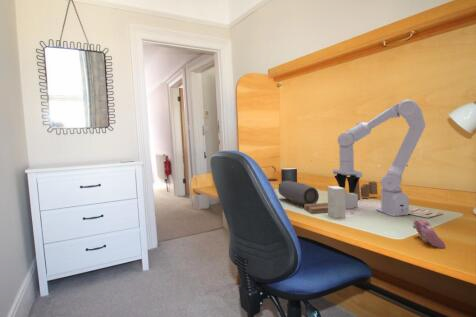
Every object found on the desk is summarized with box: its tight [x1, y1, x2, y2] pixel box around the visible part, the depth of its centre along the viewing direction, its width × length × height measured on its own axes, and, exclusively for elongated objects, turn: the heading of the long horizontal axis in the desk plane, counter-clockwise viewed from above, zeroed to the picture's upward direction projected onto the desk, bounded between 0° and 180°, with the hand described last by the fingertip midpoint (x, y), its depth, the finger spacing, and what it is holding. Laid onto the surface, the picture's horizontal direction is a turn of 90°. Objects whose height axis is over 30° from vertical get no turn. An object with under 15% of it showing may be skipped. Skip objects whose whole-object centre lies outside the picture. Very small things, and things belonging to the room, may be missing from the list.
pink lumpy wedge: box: [412, 219, 446, 249], centre depth 76 cm, size 10×5×7 cm, turn 163°
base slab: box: [303, 202, 328, 215], centre depth 113 cm, size 8×14×2 cm, turn 99°
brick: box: [345, 192, 359, 210], centre depth 117 cm, size 4×8×6 cm, turn 105°
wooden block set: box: [354, 179, 378, 200], centre depth 134 cm, size 18×9×10 cm, turn 84°
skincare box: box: [327, 185, 346, 220], centre depth 104 cm, size 6×4×12 cm
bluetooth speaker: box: [277, 180, 320, 206], centre depth 129 cm, size 23×9×10 cm, turn 20°
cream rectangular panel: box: [345, 211, 356, 215], centre depth 108 cm, size 6×8×1 cm
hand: (347, 191), depth 117 cm, fingers open, 5 cm apart
